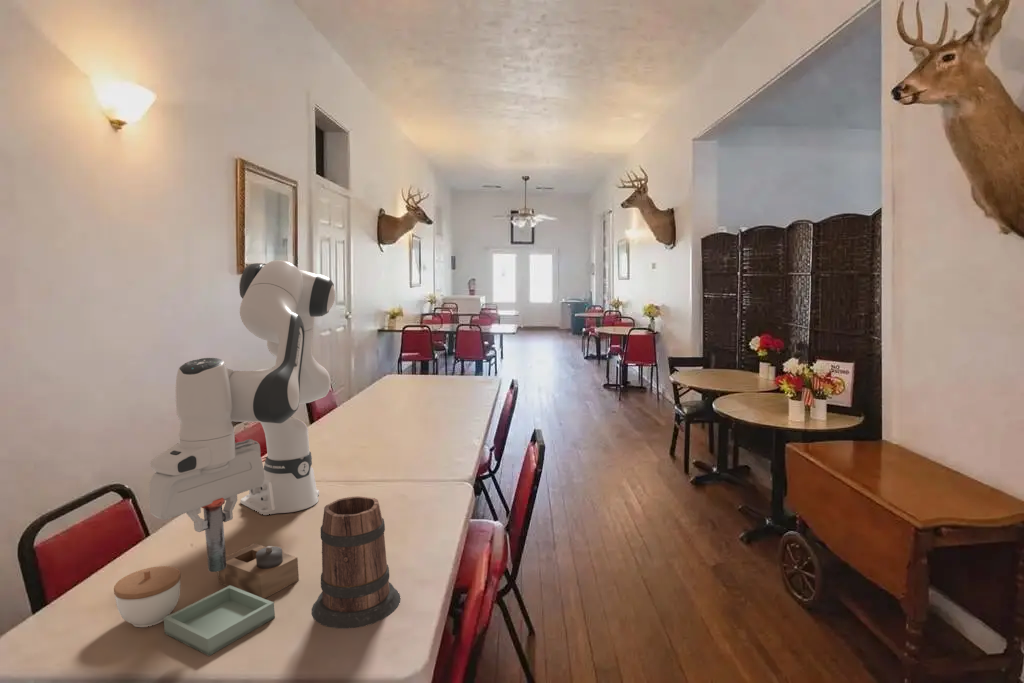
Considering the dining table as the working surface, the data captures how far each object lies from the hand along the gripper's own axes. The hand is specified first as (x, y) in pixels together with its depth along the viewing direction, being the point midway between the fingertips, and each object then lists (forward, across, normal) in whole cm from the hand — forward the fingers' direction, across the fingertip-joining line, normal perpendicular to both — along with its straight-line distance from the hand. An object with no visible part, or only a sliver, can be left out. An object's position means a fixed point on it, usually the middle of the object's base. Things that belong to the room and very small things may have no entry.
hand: (214, 525), depth 110 cm
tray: (+19, 0, 0) cm, 19 cm away
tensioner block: (+19, -14, -8) cm, 25 cm away
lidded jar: (+19, +5, -14) cm, 25 cm away
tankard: (+20, -20, +14) cm, 31 cm away
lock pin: (+8, 0, 0) cm, 8 cm away
